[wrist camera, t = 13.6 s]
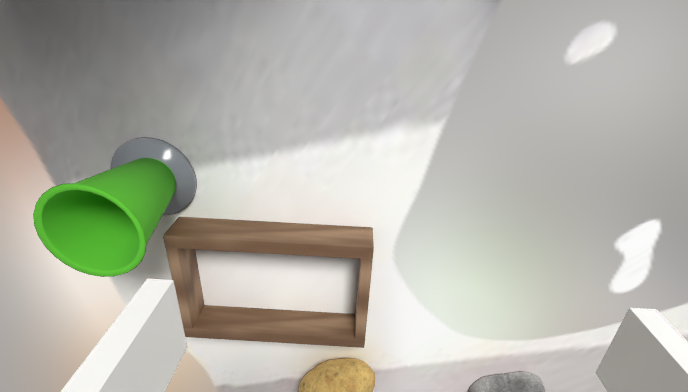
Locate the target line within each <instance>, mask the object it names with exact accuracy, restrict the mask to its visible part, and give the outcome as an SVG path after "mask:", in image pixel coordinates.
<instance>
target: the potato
mask: <svg viewBox="0 0 688 392" xmlns="http://www.w3.org/2000/svg"><path fill="white" fill-rule="evenodd" d="M374 387H375V373H374V372H373V370H372V369H371V368H370V367H369V366H368V365H367V364H366V363H365V362H364V361H361V360H358V359H351V358H343V359H334V360H328V361H325V362H323V363H321V364H319V365H318V366H317V367H315V368H314V369H313V370H311V371H310V372H308V373H307V374H306V375H305V376H304V377H303V378H302V380H301V382H300V385H299V389H298V392H372V391H373V389H374Z"/></svg>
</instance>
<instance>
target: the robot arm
mask: <svg viewBox="0 0 688 392" xmlns="http://www.w3.org/2000/svg"><path fill="white" fill-rule="evenodd" d="M186 349H187V343H186V338H185V333H184V329H183V324H182V319H181V314H180V309H179V304H178V300H177V295H176V290H175V285H174V280H164V279H147V280H146V281H145V282H144V283H143V285H142V286H141V287H140V289H139V290H138V291H137V293H136V294H135V295H134V296H133V298H132V299H131V300H130V302H129V303H128V304H127V306H126V307H125V308H124V310H123V311H122V312H121V313H120V315H119V316H118V317H117V319H116V320H115V322H114V323H113V324H112V325H111V326H110V328H109V329H108V330H107V332H106V333H105V334H104V336H103V337H102V338H101V340H100V341H99V342H98V344H97V345H96V346H95V347H94V349H93V350H92V351H91V353H90V354H89V355H88V357H87V358H86V359H85V360H84V362H83V363H82V364H81V366H80V367H79V368H78V370H77V371H76V372H75V373H74V375H73V376H72V378H71V379H70V380H69V381H68V383H67V384H66V385H65V387H64V388H63V389H62V390H61V392H165V391H166V389H167V387H168V385H169V383H170V380H171V379H172V377H173V375H174V372H175V371H176V368H177V366H178V364H179V362H180V360H181V358H182V356H183V355H184V353H185V351H186ZM596 374H597V376H598V377H599V379H600V380H601V382H602V384H603V385H604V387H605V388H606V390H607V391H608V392H688V342H687V341H686V340H685V338H684V337H683V336H682V335H681V334H680V333H679V332H678V331H677V330H676V329H675V328H674V327H673V326H672V325H671V324H670V323H669V322H668V321H667V320H666V319H665V318H664V317H663V316H662V315H661V314H660V312H659V311H658V310H657V309H641V308H629V310H628V312H627V314H626V316H625V317H624V319H623V321H622V323H621V325H620V327H619V329H618V331H617V333H616V335H615V336H614V338H613V340H612V342H611V344H610V346H609V348H608V350H607V352H606V354H605V356H604V358H603V359H602V361H601V363H600V365H599V367H598V369H597V371H596Z"/></svg>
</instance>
